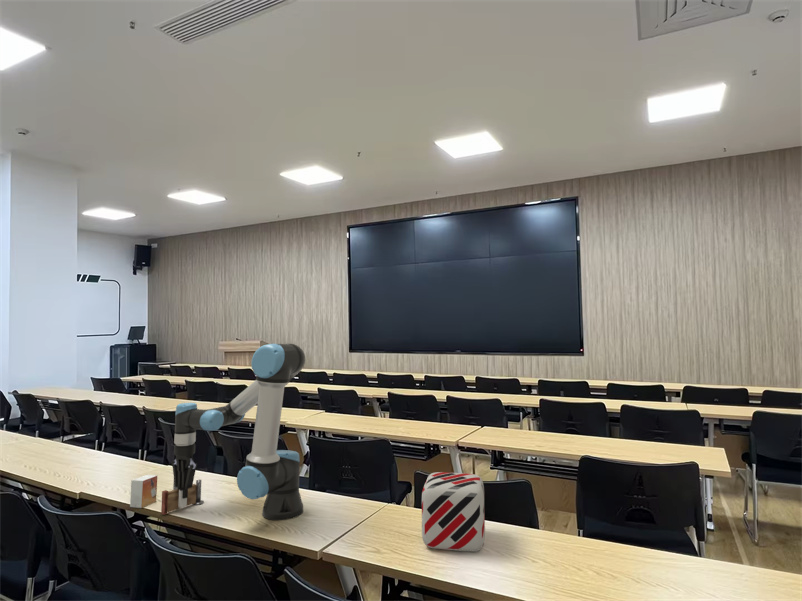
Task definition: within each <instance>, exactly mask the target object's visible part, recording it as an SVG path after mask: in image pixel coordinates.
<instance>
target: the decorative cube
mask: <svg viewBox="0 0 802 601" xmlns="http://www.w3.org/2000/svg"><path fill="white" fill-rule="evenodd" d="M484 485H485V484H484V482H483V479H482V477H481V476H479V475H477V474H473V473H467V472H466V473H462V472H461V473H460V472H445V471H440V472H439V471H438V472H432V473H430V474H428V476H427V479H426V481H425V482H424V485H423V488H422V491H421V536H422V541H423V543H424V544H425V546H427V547H428V548H431V549H435V550H446V551H460V552H477V551H480V550H481V549H482V548H483V546H484V544H485V537H486V536H485V535H486V527H485V525H486V524H485V520H486V518H485V516H486V515H485V511H486V510H485V486H484Z"/></svg>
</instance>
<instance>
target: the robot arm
mask: <svg viewBox="0 0 802 601" xmlns="http://www.w3.org/2000/svg"><path fill="white" fill-rule="evenodd" d="M252 355H253V356H252V358H251V362H250V363H251V370H253V373H254V375H255V376H256V379H255V380H254V381H253V382H252V383H251V384H250V385H249V386H247V387H246V388H245V389H244V390H242V391H241V392H240V393H239V394H238V395H237V396H236V397H235V398H232V400H231V401H230V402H229V403H228V404H226V405H224V406H220V407H219V406H218V407H213V408H208V409H204V408H202V409H201V408H198V405H197V403H196V402H184V403H183V402H182V403H179V404H177V405H176V407H175V417H174V418H175V419H174V422H175V423H174V439H173V440H174V441H173V443H174V445H173V447H174V448H173V455H174V456H175V459H174V460H172V461H171V466H172V474H173V484H175V487H178V489H179V492H178V494H179V495H178V497H179V504H178V508H180V509H182V507H183V508H185V506H186V507H188V506H187V497H188V489H189V488H191V487H192V485H193V484H194V479H195V475H196V469H197V467H198V463H195V462H194V456H193V455H194V454H195V453H196V446H197V445H196V443H195V442H196V440H197V437H196V436H197V430H198V431H199V430H201V431H207V432H209V431H211V432H212V431H218V430H220V428H221V427H224V426H228V425H234V424H237V423H240V422H242V421H243V420H244V419H245V417H246V413H248V412H249V411H250V410H251V409H252V408H254V407H255V406H256V413H255V420H254V421H255V422H254V430H253V438H252V445H251V446H252V447H251V452H249V454H247V455H246V458H245V459H246V460H245V466H243V467H242V468H241V469H239V471H238V473H237V477H236V484H237V487H238V490H239V491H240V492H241V494H242V495H243V496H244V497H245V498H247V499H250V500H258V499H259V498H264V497H266V498H265V500H264V503H263V507H262V517H263V518H265V519H267V520H270V521H273V520H274V521H286V520H291V519H294V518H297V517H299V516H301V515H302V514H303V513H304V504H303V500H302V497H301V493H300V467H301V466H300V463H301V461H300V453H299V452H297V451H295V450H286V449H278V442H279V434H280V425H281V419H282V418H281V417H282V409H283V401H284V395H285V394H284V393H285V388H286V386H287V385H289V383H290V381H291V380H292V379H293V378H294V377H295V376H296V375H298V374H299V373H300V372H301V371H302V370H303V368H304V366H305V364H306V354H305V352H304V350H303V349H302V347H300V346H299V345H297V344H295V343H268V344H264V345H261V346H259V347H258V348H257V349H255V352H254V353H253V354H252Z"/></svg>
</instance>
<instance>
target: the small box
mask: <svg viewBox="0 0 802 601" xmlns="http://www.w3.org/2000/svg"><path fill="white" fill-rule="evenodd" d="M157 490H158V475H155V474H145V475H142V476H139V477H136V478H134V479H131V482H130V498H129V500H130V501H129V507H130V508H137V509H142V508H145V507H146V506H149V505H151V504H154V503H156V502H157V494H158V492H157Z"/></svg>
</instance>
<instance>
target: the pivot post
mask: <svg viewBox="0 0 802 601" xmlns="http://www.w3.org/2000/svg"><path fill="white" fill-rule="evenodd" d="M195 484H196V503H194V504H192V506H200V505H203V504H205V500H203V499H202V479H197V480H195Z"/></svg>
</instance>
